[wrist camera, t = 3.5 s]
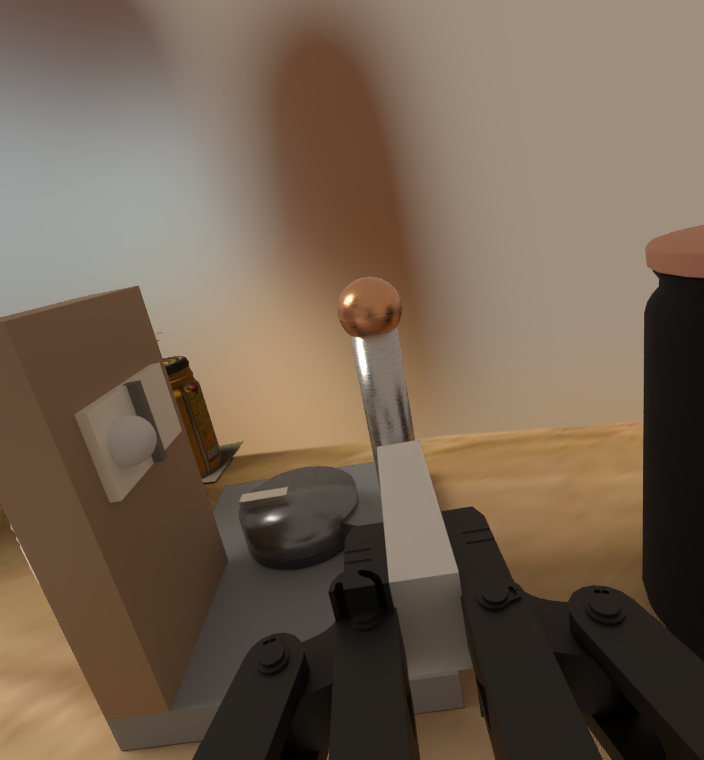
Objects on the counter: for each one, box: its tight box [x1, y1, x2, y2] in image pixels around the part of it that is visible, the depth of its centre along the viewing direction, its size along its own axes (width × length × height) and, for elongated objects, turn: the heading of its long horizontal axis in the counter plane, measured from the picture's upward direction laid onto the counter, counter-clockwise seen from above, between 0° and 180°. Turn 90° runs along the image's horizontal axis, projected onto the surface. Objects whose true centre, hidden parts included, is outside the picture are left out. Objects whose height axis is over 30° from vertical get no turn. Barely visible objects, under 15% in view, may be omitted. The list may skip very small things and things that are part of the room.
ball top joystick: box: [238, 277, 415, 570], centre depth 28 cm, size 12×10×16 cm
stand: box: [0, 286, 464, 751], centre depth 28 cm, size 16×20×20 cm
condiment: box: [163, 356, 243, 483], centre depth 48 cm, size 7×8×12 cm
